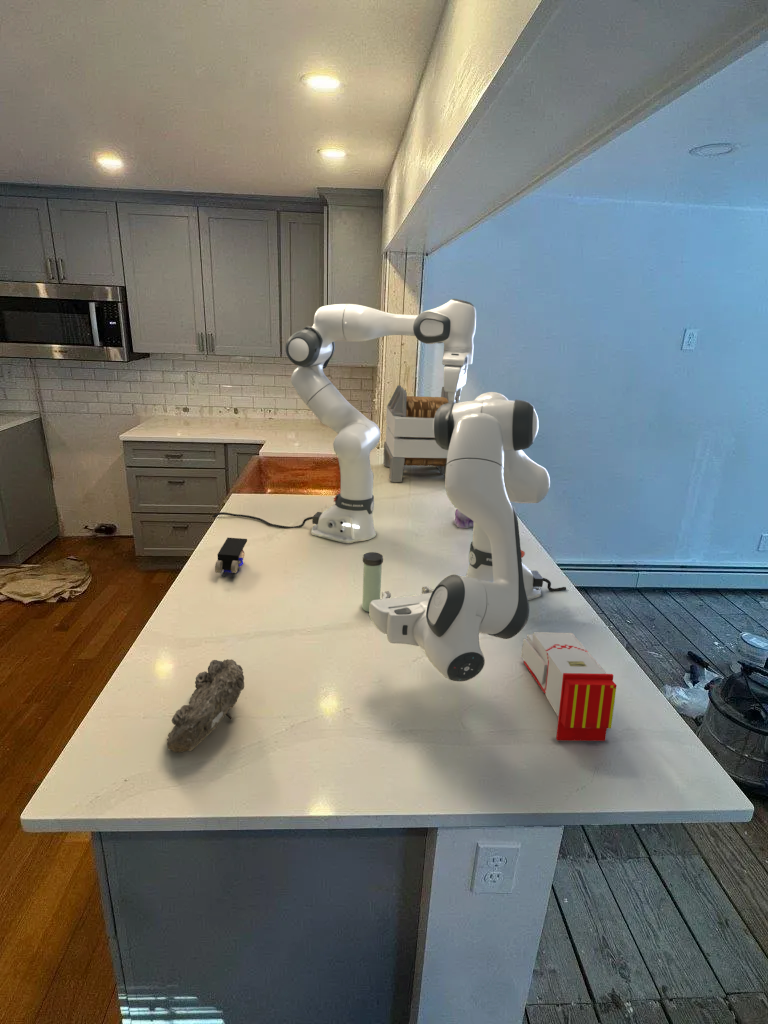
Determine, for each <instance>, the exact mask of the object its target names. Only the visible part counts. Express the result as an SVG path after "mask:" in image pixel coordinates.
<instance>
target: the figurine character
mask: <svg viewBox="0 0 768 1024" xmlns="http://www.w3.org/2000/svg"><path fill="white" fill-rule="evenodd" d="M247 542H248V538H240V537H226V539H225V541H224V543H223V544H222V546H221V547H220V549H219V551H218V552H217V560H216V562H215V564H214V572H215V573H221V577H222V578H224V577H225V576H226V574H227V573H230V574H231V573H232V574H231V578H234V577H235V575H236V573H237V572H239V571H240V567H242V566H243V565H244V564H245V562H244V558H245V551H244V547H245V546H246V544H247Z"/></svg>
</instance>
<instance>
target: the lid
mask: <svg viewBox="0 0 768 1024" xmlns="http://www.w3.org/2000/svg"><path fill="white" fill-rule="evenodd" d="M362 563H363V565H364V564H366V565H370V566H377V565H380V564H382V565H383V563H384V556H383V554H381V553H379V552H376V551H369V552H365V553H364V554H363V555H362Z"/></svg>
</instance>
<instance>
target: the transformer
mask: <svg viewBox="0 0 768 1024" xmlns="http://www.w3.org/2000/svg"><path fill="white" fill-rule="evenodd" d="M440 393H441V394H440V396H415V395H414V396H413V395H412V396H411V395H407V394H408V393H407V390H406V389H404V388H403V387H402V385H399V384H398V385H397V386H396V388H395V390H394V392H393V394H392V395H391V398H390V400H389V402H388V404H387V405H386V413H385V414H386V415H385V423H386V428H385V438H384V442H383V466H384V467H388V468H389V475H388V476H389V477H388V478H389V480H390V482H391V483H402V482H403V475H404V469H405V466H406V467H407V466H411V467H412V466H413V467H415V466H416V467H417V466H418V467H436V468H437V470H438V469H439V473H440V474H441V475H443V478H444V479H445V474H446V464H447V456H448V450H445V449H442V448H441V447H440V446H439V445H438V444H437V443H436V441H435V437H434V434H433V420H434V417H435V413H436V411H437V409H438V408H439V407H440V406H441V405H443V404H446V403H448V401H449V400H448V392H445V390H444V386H442V387H441V392H440ZM456 403H460V401H458V402H456Z"/></svg>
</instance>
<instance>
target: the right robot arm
mask: <svg viewBox="0 0 768 1024" xmlns="http://www.w3.org/2000/svg"><path fill="white" fill-rule="evenodd" d="M539 426H540V421H539V417H538V414H537V411H536V409H535V406H534V405H533V404H532V403H530V401H527V400H523V399H514V400H510V399H508V397H506V396H505V395H504V394H502V393H500V392H496V391H487V392H484V393H482V394H479V395H478V396H476V397H475V398H474V399H473V400H466V401H461V402H460V401H459V403H456V402H450V403H446V404H443V405H441V406H440V407H439V408H438V409H437V411H436V413H435V417H434V420H433V434H434V437H435V441H436V443H437V444H438V445H439V446H440V447H441V448H442V449H445V450H448V456H447V464H446V474H445V478H444V488H445V493H446V497H447V498H448V500H449V501H450V503H451V504H452V505H453V507H454V508H456V509H458V510H459V511H460V512H461V513H462V514H464V515H465V516H467V517H468V518H470V519H471V520H473V527H472V541H471V542H470V546H469V553H468V566H467V567H468V568H467V571H466V575H459V574H449V575H448V576H446V577H445V578H443V579H442V580H441V581H440V582H439V583H438V584H437V585H436V586H435V588H434V589H433V588H431V586H429V585H427V586H422V587H421V593H419V594H410V595H403V596H395V597H392V594H391V592H390V591H389V590H386V591H381V598H380V599H378V600H372V601H371V603H370V606H369V612H368V616H369V618H370V620H371V622H372V624H374V626H375V627H376V628H377V630H378V631H379V632H381V633H382V634H385V635H386V640H387V642H389V643H390V644H397V645H398V644H399V645H400V644H401V645H410V646H415V647H420V649H422V650H423V651H424V654H425V656H426V657H427V659H428V661H429V662H430V663H431V664H432V666H433V667H434V668H435V669H436V670H437V671H438V672H439V674H440V675H441V676H443V677H445V678H446V679H447V680H449V681H453V682H466V681H470V680H472V679H474V678H475V677H476V676H478V675H479V674H480V673H481V672H482V670H483V669H484V667H485V663H486V662H485V661H486V660H485V656H484V654H483V651H482V649H481V645H480V634H483V635H484V634H485V635H489V636H492V637H496V638H499V639H503V640H508V639H511V638H514V637H515V636H516V635H517V634H519V633H521V631H522V630H523V629H524V627H525V626H526V625H527V622H528V620H529V617H530V603H529V601H531V600H533V599H536V598H537V599H538V598H540V597H541V596H542V590H541V589H540V588H543V585H544V582H545V583H547V585H546V587H547V590H548V591H550V592H561V591H566V590H567V587H566V586H561V587H557V588H556V587H555V588H554V587H552V582H551V581H550V579H548V578H546V577H543V576H542V575H541V574H540V573H539V571H538V570H532V569H530V568H529V567H528V566H527V565H525V563H523V562H522V561H523V560H522V559H523V558H524V557H525V555H526V553H525V551H524V550H522V549H521V548H522V547H521V537H520V527H519V519H518V514H517V511H516V508H515V506H514V505H513V503H516V504H539V503H541V502H542V501H543V500H544V499H545V498H546V496H548V493H549V491H550V489H551V478H550V474H549V472H548V470H547V469H546V468H545V466H543V465H540V464H538V463H537V462H535V461H534V460H532V459H531V458H530V457H529V456H528V455H527V454H526V453H525V451H523V450H527V449H529V448H530V447H531V446H532V445H533V444H534V442H535V439H536V438H537V436H538V432H539Z"/></svg>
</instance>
